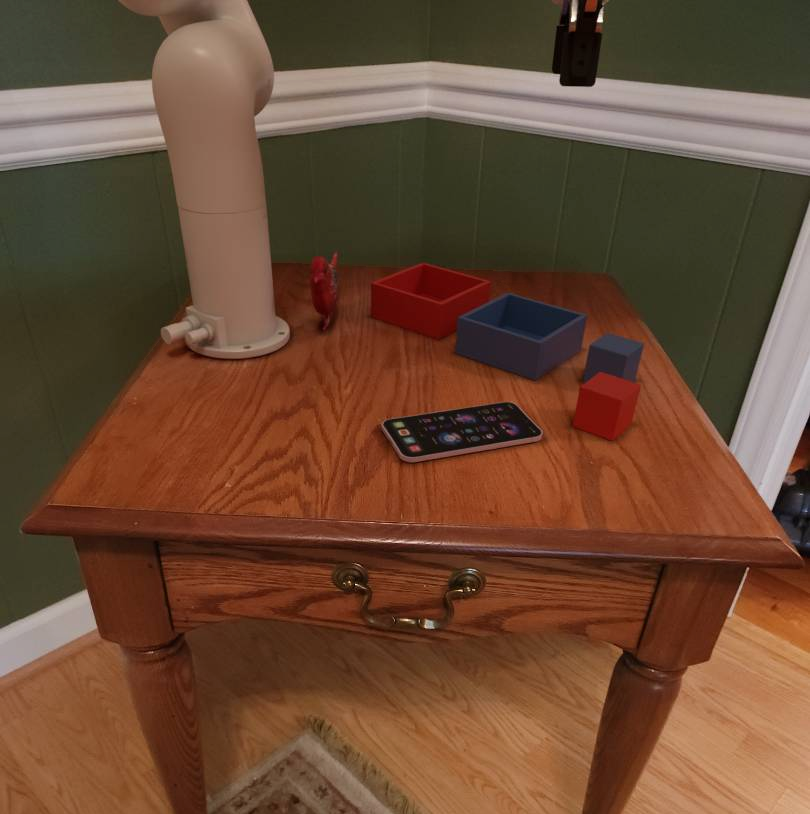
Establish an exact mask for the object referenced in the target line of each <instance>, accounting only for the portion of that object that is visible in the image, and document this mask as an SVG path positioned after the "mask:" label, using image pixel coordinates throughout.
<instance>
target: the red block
mask: <svg viewBox="0 0 810 814" xmlns="http://www.w3.org/2000/svg"><path fill="white" fill-rule="evenodd" d="M641 387H642V384H640V383H638V382H637V383H636V382H635V381H634V382H631V381H628V380H624V379H621V378H618V377H615V376H612V375H609V374H606V373H603V372H599V373H598V374H597V375H595V376H594V377H593V378H591V379H590V380H588V381H587V382H586V383H585V382H583V384H581V386H579V390H578V396H577V401H576V406H575V411H574V415H573V421H572V428H575V429H578V430H582V431H583V432H585V433H586V432H587V433H589V434H592V435H595V436H598V437H601V438H603V439H606V440H608V441H611V442H613V441H615V439H616V438H617V437H619V436H620V435H622V433H623V432H625V431H626V429H628V428H629V427H630V426H631V425H632V423H633V419H634V414H635V411H636V406H637V403H638V399H639V396H640V392H641Z"/></svg>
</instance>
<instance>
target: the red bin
mask: <svg viewBox="0 0 810 814" xmlns="http://www.w3.org/2000/svg"><path fill="white" fill-rule="evenodd" d="M491 287H492V281H490V280H488V279H483V278H480V277H478V276H477V277H476V276H473V275H470V274H466V273H462V272H459V271H455V270H452V269H448V268H444V267H441V266H437V265H434V264H430V263H426V262H421V263H419V264H415V265H413V266H410V267H408V268H406V269H403V270H400V271H397V272H395V273H393V274H390V275H387V276H385V277H383V278H380V279H377V280H374V281H372V282H370V317H371V318H373V319H376V320H379V321H382V322H385V323H387V324H391V325H394V326H397V327H401V328H403V329H407V330H409V331H412V332H415V333H418V334H421V335H424V336H427V337H430V338H433V339H435V340H441V339H444V338H446V337H447V336H450V335H451V334H453V333H455V332H457V322H458V317H460V316H461V315H463V314H466V313H468V312H470V311H472V310H474V309H476V308H478V307H480V306H482V305H484V304H486V303H488V302H490V295H491Z"/></svg>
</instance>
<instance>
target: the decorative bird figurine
mask: <svg viewBox="0 0 810 814" xmlns="http://www.w3.org/2000/svg"><path fill="white" fill-rule="evenodd" d="M338 255H339V251H338V250H335V251H334V253H333V256H332V259H331V261H330V263H329V262H328V260H327V259H326V258H325V257H323V256H320V255H316V256H314V257H313V258H312V261H311V263H310V269H309V281H310V282H309V283H310V297H311V303H312V305H313V308H314V310H315V311H316V312H317V313H318V314H319V315H321V316H324V322H323V324H322V326H323V328H322V332H324V331H325V330H326V329H327V328H328V327H329V324H330V320H331V319H330V317H331V314H332V312H333V311H334V310H335V308H336V305H337V301H338V296H339V273H338V270H337V266H338V258H339V257H338Z"/></svg>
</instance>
